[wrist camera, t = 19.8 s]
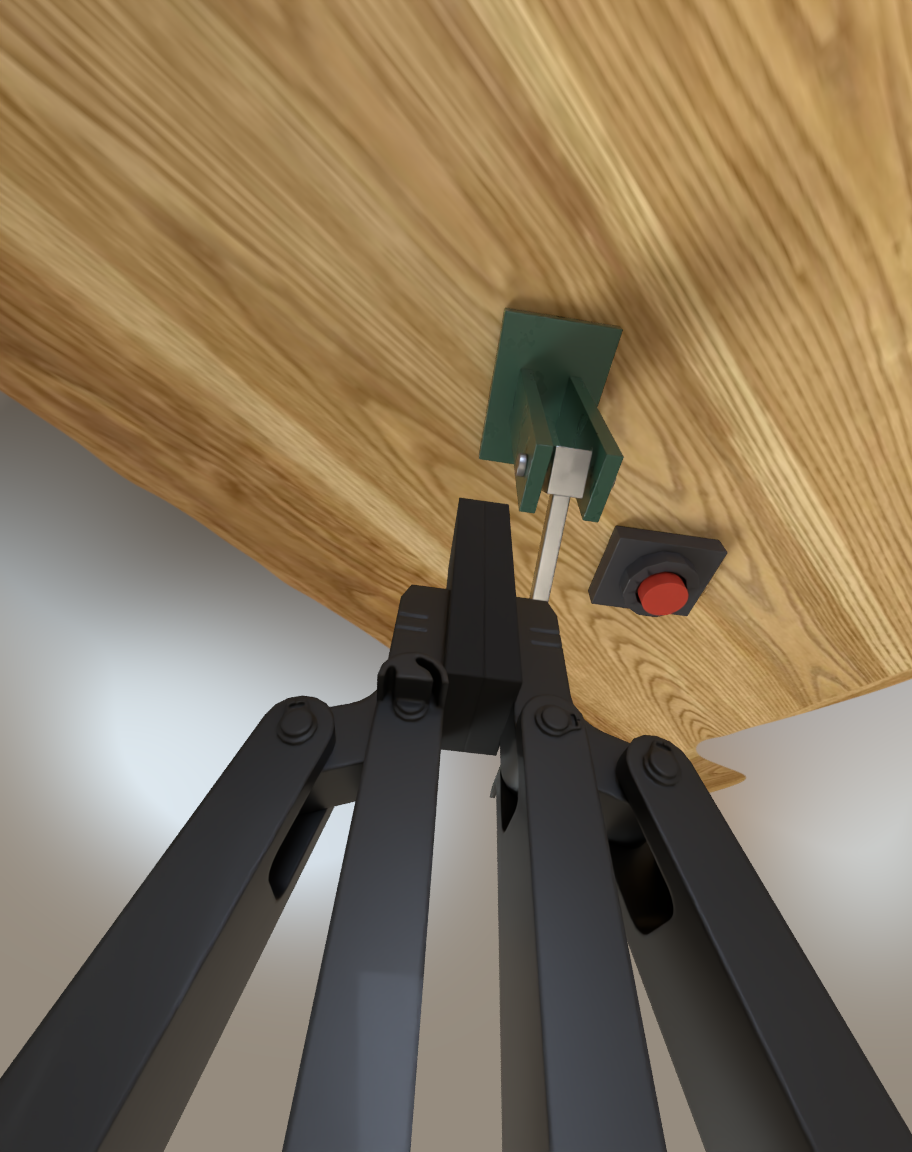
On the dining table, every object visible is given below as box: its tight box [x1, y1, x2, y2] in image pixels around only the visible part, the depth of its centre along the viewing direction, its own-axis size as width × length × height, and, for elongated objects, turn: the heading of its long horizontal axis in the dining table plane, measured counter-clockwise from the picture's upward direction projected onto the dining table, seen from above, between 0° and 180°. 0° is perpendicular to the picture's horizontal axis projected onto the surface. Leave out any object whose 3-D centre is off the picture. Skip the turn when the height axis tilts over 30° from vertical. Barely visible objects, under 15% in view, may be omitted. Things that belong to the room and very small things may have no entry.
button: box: [638, 572, 688, 615], centre depth 47 cm, size 4×4×2 cm
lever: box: [529, 446, 593, 602], centre depth 30 cm, size 17×4×4 cm, turn 173°
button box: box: [588, 526, 727, 617], centre depth 49 cm, size 11×9×4 cm
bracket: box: [479, 308, 624, 522], centre depth 33 cm, size 12×9×16 cm
